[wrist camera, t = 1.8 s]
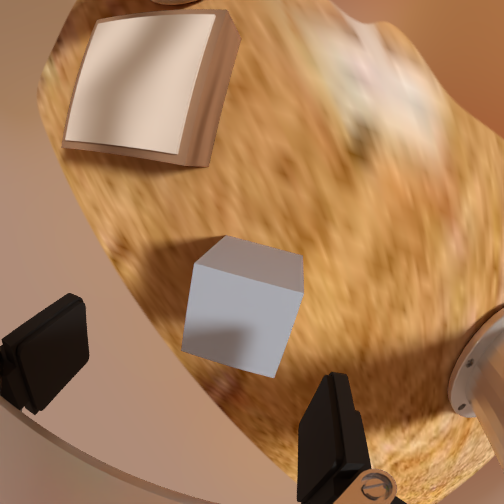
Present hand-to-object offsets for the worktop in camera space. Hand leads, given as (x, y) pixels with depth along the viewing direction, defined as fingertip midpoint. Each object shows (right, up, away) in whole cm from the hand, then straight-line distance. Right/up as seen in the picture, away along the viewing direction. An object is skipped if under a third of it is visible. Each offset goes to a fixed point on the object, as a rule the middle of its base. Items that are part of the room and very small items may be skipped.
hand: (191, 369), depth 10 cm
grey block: (+2, +2, +9) cm, 10 cm away
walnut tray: (-4, +15, +7) cm, 17 cm away
